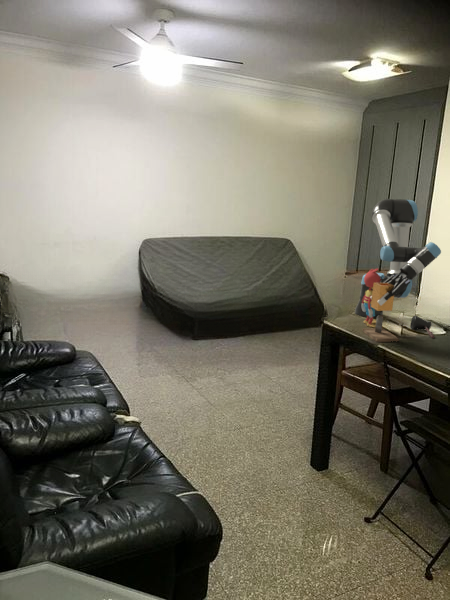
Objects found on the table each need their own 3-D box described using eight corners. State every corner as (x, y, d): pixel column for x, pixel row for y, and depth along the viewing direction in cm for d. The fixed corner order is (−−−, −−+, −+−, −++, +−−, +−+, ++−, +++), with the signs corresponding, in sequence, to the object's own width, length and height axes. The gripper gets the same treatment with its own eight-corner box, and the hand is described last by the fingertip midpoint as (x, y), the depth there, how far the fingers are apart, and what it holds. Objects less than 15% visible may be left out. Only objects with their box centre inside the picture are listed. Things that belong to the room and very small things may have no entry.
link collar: (370, 306, 236) (373, 282, 234) (385, 306, 237) (388, 282, 235) (377, 310, 229) (380, 285, 227) (392, 310, 230) (395, 286, 228)
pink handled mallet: (409, 325, 254) (425, 329, 253) (414, 340, 238) (432, 344, 237) (413, 312, 251) (430, 316, 250) (419, 326, 235) (437, 331, 234)
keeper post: (362, 331, 241) (364, 311, 239) (383, 331, 243) (385, 312, 240) (376, 341, 226) (379, 321, 223) (398, 341, 227) (401, 321, 225)
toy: (383, 329, 246) (390, 271, 239) (363, 328, 246) (370, 270, 239) (374, 321, 261) (381, 266, 254) (355, 320, 261) (362, 265, 253)
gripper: (427, 278, 222) (389, 312, 223) (405, 270, 241) (370, 301, 243) (418, 267, 220) (380, 301, 221) (396, 259, 239) (362, 291, 241)
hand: (375, 301), depth 232 cm, fingers closed on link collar, 7 cm apart
